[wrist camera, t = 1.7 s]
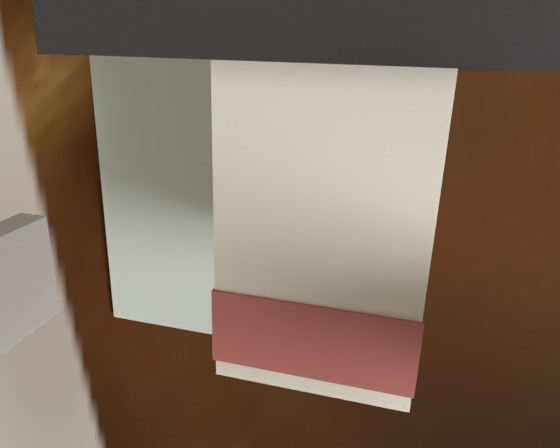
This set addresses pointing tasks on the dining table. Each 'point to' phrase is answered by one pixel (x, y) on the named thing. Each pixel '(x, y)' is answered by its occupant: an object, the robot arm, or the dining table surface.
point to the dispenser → (310, 31)
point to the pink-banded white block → (325, 223)
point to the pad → (157, 186)
